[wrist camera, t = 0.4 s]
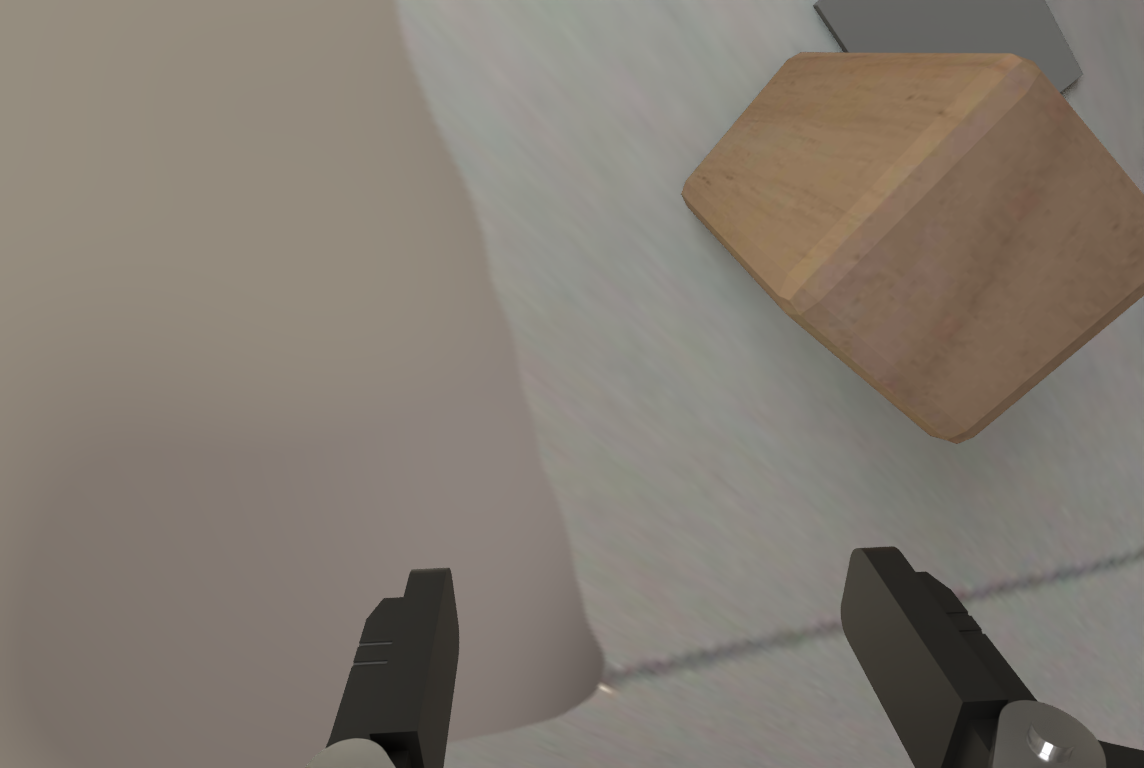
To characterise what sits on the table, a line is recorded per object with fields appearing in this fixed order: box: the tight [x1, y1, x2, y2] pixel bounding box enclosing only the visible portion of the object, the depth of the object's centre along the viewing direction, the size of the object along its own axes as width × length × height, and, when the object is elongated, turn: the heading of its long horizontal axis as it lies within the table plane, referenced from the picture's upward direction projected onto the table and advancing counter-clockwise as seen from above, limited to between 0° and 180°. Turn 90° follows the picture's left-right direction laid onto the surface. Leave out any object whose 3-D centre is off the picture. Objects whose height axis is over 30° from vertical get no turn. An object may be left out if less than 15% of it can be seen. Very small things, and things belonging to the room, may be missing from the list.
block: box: [681, 52, 1144, 444], centre depth 31 cm, size 10×10×20 cm
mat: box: [813, 0, 1083, 93], centre depth 36 cm, size 9×13×1 cm
